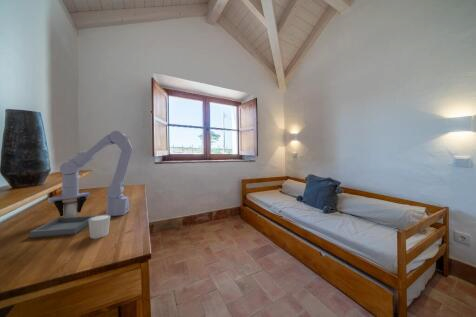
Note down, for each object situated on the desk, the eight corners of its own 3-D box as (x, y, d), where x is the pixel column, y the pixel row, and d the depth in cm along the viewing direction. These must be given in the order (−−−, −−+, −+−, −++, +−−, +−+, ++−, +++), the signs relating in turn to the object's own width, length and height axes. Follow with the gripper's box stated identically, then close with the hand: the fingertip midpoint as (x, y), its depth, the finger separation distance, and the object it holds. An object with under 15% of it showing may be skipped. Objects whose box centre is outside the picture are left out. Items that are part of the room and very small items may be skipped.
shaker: (79, 215, 85) (79, 200, 84) (72, 219, 80) (73, 203, 80) (68, 216, 83) (68, 200, 83) (61, 220, 79) (61, 203, 79)
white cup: (85, 240, 62) (85, 222, 62) (91, 232, 68) (91, 215, 68) (108, 237, 65) (108, 219, 65) (111, 229, 71) (112, 213, 71)
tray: (95, 220, 79) (95, 215, 79) (75, 234, 66) (75, 228, 66) (58, 223, 76) (58, 217, 76) (29, 238, 62) (29, 231, 62)
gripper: (86, 183, 90) (86, 208, 90) (46, 187, 77) (45, 216, 77) (92, 185, 86) (91, 210, 86) (50, 189, 73) (50, 220, 74)
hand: (70, 213), depth 82 cm, fingers open, 6 cm apart
